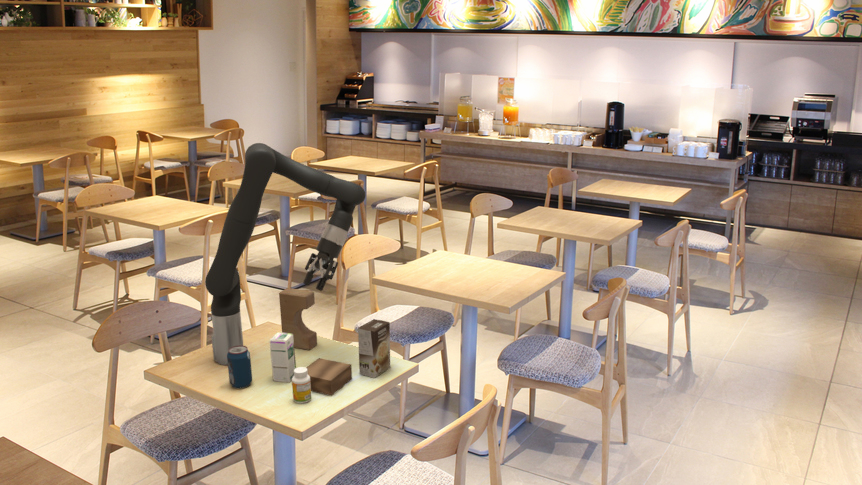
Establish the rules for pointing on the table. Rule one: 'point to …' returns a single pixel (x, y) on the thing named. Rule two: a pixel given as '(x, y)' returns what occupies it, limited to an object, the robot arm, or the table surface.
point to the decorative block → (297, 316)
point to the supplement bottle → (301, 385)
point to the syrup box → (282, 357)
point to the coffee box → (374, 348)
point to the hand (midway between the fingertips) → (312, 287)
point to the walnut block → (328, 375)
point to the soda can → (239, 367)
